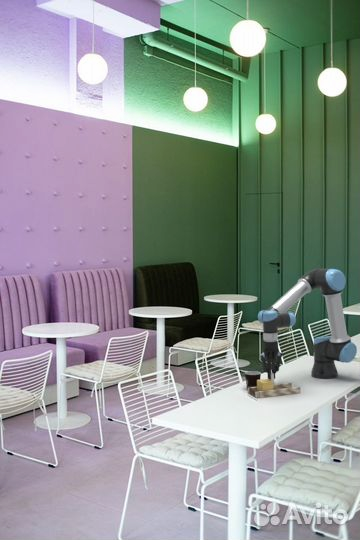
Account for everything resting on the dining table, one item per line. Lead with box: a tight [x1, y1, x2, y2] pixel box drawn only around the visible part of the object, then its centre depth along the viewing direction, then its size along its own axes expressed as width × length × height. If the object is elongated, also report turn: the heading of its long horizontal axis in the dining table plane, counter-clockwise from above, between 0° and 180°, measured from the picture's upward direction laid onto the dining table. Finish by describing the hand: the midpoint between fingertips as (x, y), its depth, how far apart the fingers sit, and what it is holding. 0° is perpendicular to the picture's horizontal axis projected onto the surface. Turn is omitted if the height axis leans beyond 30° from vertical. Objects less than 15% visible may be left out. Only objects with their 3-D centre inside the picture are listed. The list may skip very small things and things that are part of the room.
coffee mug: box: [244, 370, 262, 391], centre depth 335 cm, size 12×9×10 cm
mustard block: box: [257, 378, 273, 391], centre depth 323 cm, size 6×7×7 cm
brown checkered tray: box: [247, 382, 301, 401], centre depth 324 cm, size 25×12×4 cm, turn 108°
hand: (271, 385), depth 324 cm, fingers closed
